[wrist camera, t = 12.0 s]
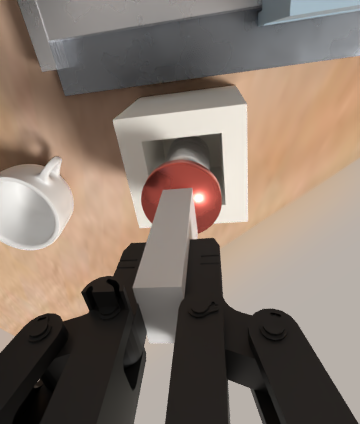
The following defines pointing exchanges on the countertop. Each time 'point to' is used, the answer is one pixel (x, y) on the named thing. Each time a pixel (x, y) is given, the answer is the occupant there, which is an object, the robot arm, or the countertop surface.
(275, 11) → the carriage
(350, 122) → the countertop surface
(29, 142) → the countertop surface
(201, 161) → the plunger
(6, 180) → the teacup
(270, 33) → the rail
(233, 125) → the white push button housing
